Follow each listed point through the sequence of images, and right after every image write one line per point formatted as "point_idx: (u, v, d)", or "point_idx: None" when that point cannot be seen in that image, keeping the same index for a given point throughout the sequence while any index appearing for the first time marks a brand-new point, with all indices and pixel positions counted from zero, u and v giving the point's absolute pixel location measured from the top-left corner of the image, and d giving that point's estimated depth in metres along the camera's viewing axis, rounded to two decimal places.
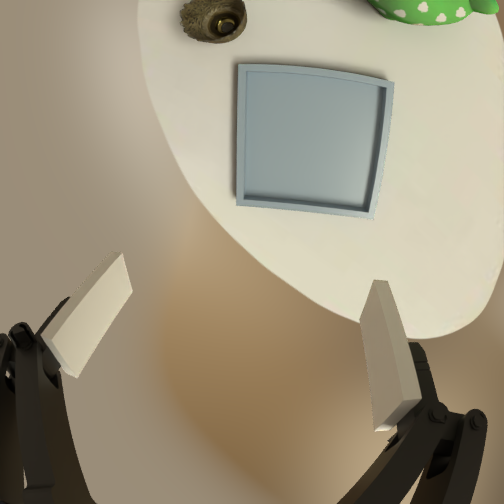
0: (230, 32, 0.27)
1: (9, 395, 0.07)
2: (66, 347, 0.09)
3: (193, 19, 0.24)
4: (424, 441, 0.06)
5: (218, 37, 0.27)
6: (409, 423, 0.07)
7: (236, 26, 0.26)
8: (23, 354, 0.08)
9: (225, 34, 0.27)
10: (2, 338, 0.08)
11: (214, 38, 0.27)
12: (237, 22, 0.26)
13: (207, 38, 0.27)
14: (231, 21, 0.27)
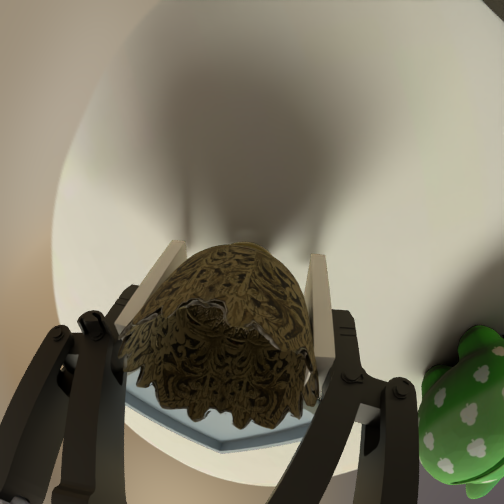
0: None
1: (58, 393, 0.08)
2: None
3: None
4: (343, 404, 0.07)
5: None
6: (326, 389, 0.09)
7: None
8: (91, 344, 0.09)
9: None
10: (63, 331, 0.09)
11: None
12: None
13: None
14: None
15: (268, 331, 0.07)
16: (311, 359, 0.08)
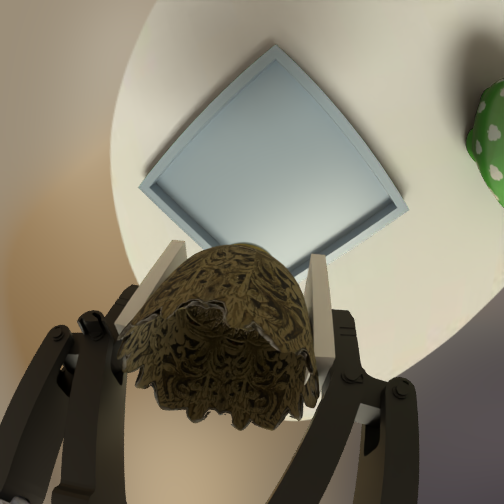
0: None
1: (58, 393, 0.08)
2: None
3: None
4: (344, 404, 0.07)
5: None
6: (326, 389, 0.09)
7: None
8: (91, 344, 0.09)
9: None
10: (63, 331, 0.09)
11: None
12: None
13: None
14: None
15: (268, 332, 0.07)
16: (311, 360, 0.08)
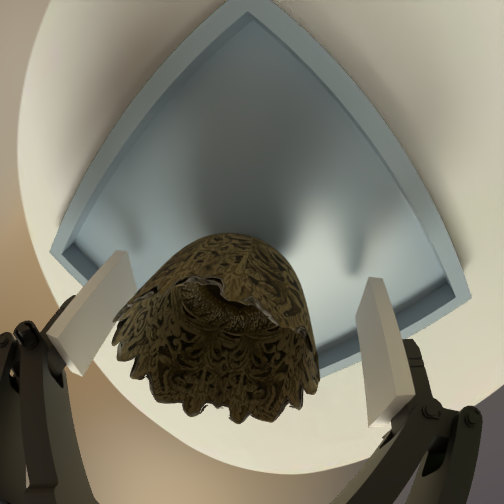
0: None
1: (13, 394, 0.07)
2: (72, 345, 0.09)
3: None
4: (418, 438, 0.06)
5: (201, 291, 0.14)
6: (403, 420, 0.07)
7: None
8: (28, 353, 0.08)
9: (219, 294, 0.15)
10: (7, 337, 0.08)
11: (191, 291, 0.14)
12: None
13: (175, 294, 0.13)
14: None
15: (266, 306, 0.07)
16: (311, 340, 0.08)
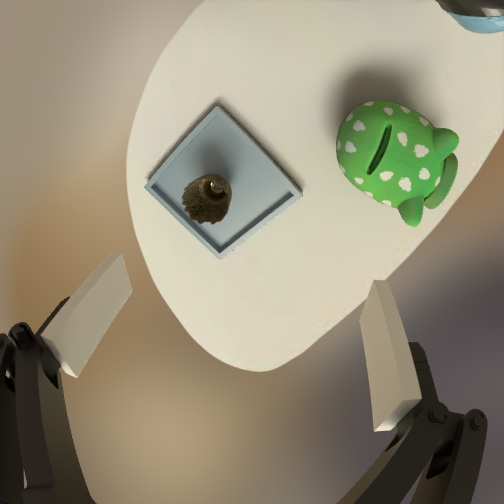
0: (214, 196, 0.47)
1: (9, 395, 0.07)
2: (66, 347, 0.09)
3: (197, 180, 0.42)
4: (424, 442, 0.06)
5: (204, 194, 0.46)
6: (409, 423, 0.07)
7: (220, 196, 0.46)
8: (23, 354, 0.08)
9: (210, 195, 0.47)
10: (2, 338, 0.08)
11: (201, 193, 0.46)
12: (223, 194, 0.46)
13: (196, 193, 0.45)
14: None
15: (214, 181, 0.39)
16: (224, 189, 0.40)
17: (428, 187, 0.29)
